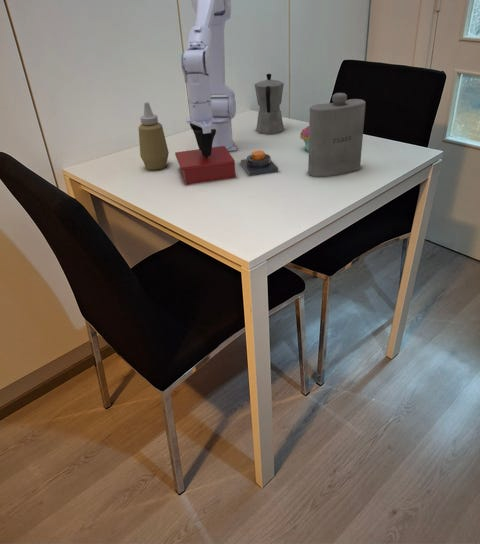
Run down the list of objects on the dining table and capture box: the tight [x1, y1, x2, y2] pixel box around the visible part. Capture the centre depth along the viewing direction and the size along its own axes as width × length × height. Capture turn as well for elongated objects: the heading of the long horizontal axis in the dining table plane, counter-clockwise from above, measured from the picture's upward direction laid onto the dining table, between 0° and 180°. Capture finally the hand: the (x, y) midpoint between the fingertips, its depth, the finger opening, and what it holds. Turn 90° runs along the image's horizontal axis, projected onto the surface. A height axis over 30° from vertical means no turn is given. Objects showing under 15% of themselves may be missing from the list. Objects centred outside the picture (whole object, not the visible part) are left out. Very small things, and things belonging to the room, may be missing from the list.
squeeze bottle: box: [138, 101, 170, 171], centre depth 135 cm, size 8×8×18 cm
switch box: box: [240, 153, 279, 177], centre depth 134 cm, size 10×8×3 cm
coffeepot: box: [253, 73, 285, 135], centre depth 158 cm, size 15×9×18 cm, turn 175°
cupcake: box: [299, 125, 309, 152], centre depth 142 cm, size 9×8×12 cm
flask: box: [307, 92, 366, 178], centre depth 125 cm, size 15×6×20 cm, turn 109°
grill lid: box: [174, 146, 236, 171], centre depth 130 cm, size 14×12×4 cm
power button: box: [251, 150, 266, 160], centre depth 133 cm, size 4×4×2 cm
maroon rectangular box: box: [179, 163, 237, 186], centre depth 133 cm, size 13×12×4 cm
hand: (204, 152), depth 131 cm, fingers closed on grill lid, 5 cm apart
